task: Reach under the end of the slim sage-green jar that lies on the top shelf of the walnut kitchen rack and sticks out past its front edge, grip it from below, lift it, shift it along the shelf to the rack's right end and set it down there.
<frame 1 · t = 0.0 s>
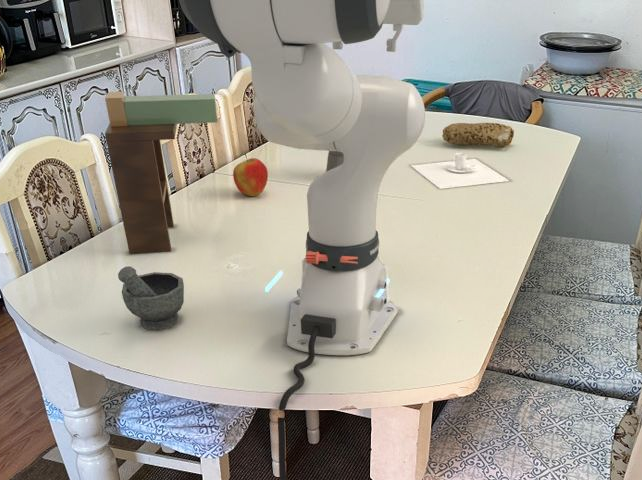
hand: (364, 49, 122), 39 cm above the table, tool pointing down, fingers open, 8 cm apart
mortar and pestle: (157, 324, 117), on the table
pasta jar: (164, 121, 135), point 24 cm above the table, touching rack
rack: (167, 238, 147), on the table
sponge: (476, 146, 210), on the table
apple: (252, 195, 170), on the table
teacup and saucer: (458, 173, 188), on the table
coffeepot: (346, 178, 183), on the table
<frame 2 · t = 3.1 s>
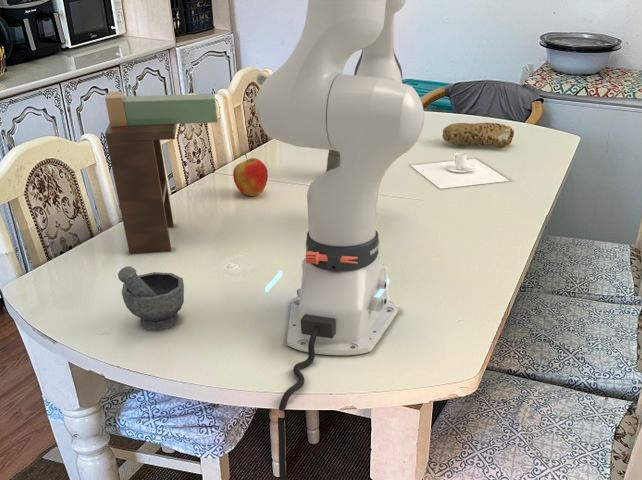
hand: (259, 82, 135), 31 cm above the table, tool pointing upward, fingers open, 8 cm apart
nothing on the table moved.
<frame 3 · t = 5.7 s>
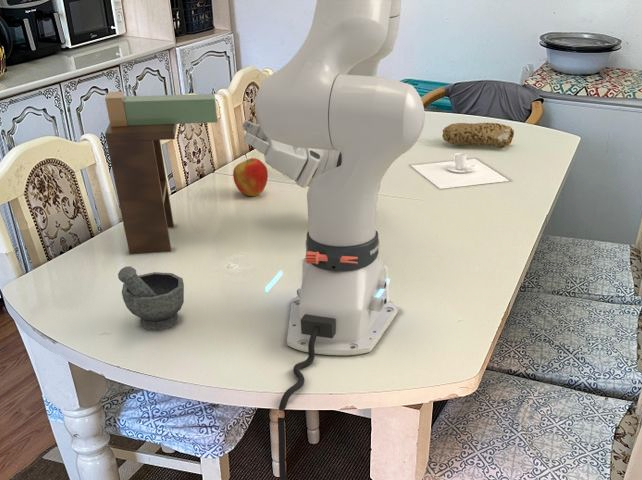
hand: (244, 130, 139), 22 cm above the table, tool pointing upward, fingers open, 8 cm apart
nothing on the table moved.
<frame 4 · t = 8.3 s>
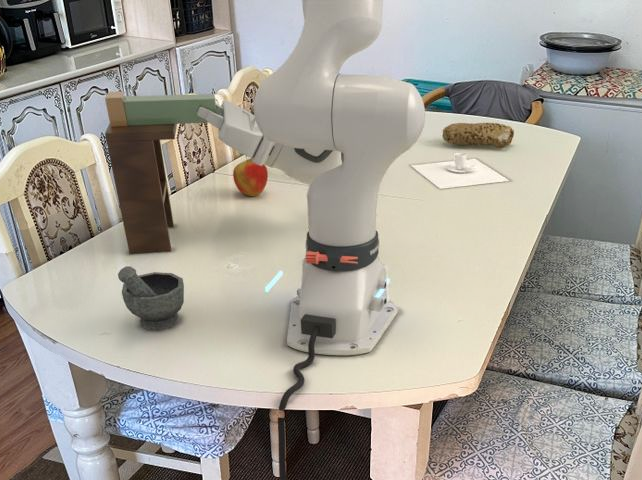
hand: (198, 106, 135), 27 cm above the table, tool pointing upward, fingers closed on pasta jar, 4 cm apart
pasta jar: (164, 121, 135), point 24 cm above the table, touching gripper, rack
everything else where it was.
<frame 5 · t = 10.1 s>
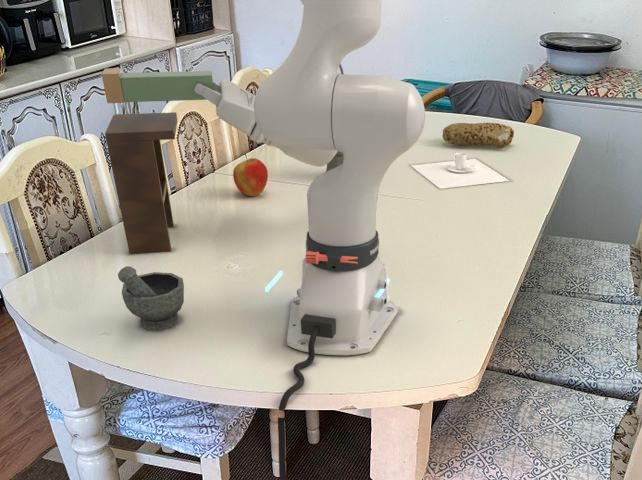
hand: (195, 83, 134), 31 cm above the table, tool pointing upward, fingers closed on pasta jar, 4 cm apart
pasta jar: (161, 98, 134), point 28 cm above the table, touching gripper
everything else where it was.
when the fingers open (27 cm above the table, at t = 12.3 s): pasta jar stays where it is, resting on rack.
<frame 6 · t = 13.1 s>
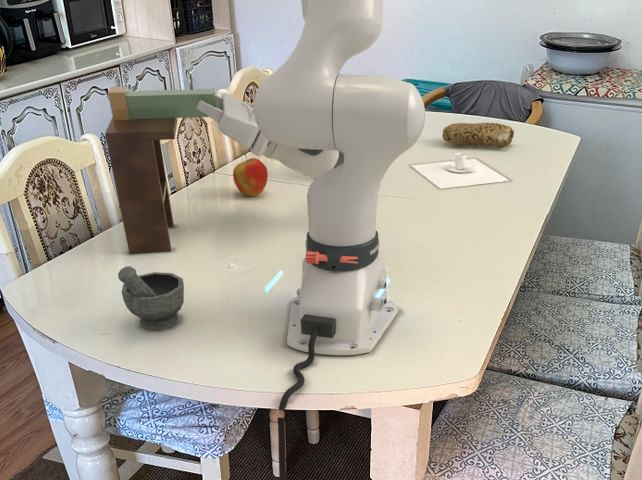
hand: (198, 98, 138), 27 cm above the table, tool pointing upward, fingers open, 8 cm apart
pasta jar: (165, 115, 139), point 24 cm above the table, touching rack
everything else where it was.
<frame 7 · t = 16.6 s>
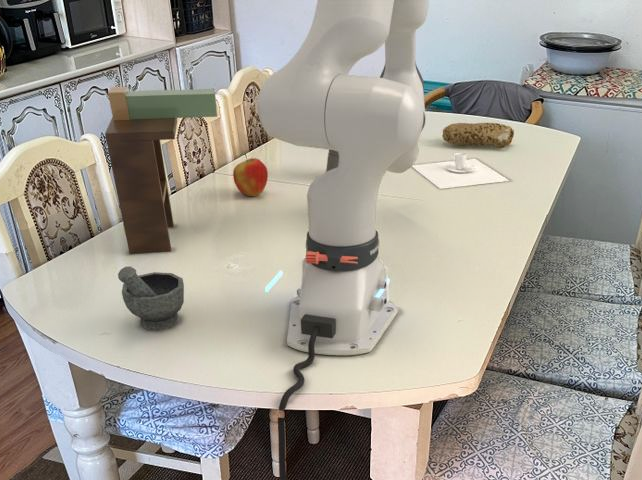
hand: (287, 93, 140), 28 cm above the table, tool pointing upward, fingers open, 8 cm apart
nothing on the table moved.
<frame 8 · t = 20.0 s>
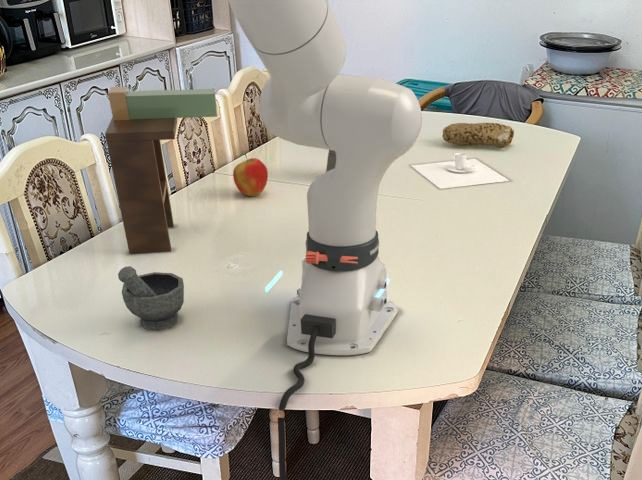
hand: (311, 35, 132), 39 cm above the table, tool pointing down, fingers open, 8 cm apart
nothing on the table moved.
at the end: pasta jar 0.1 cm from the target spot on the rack, point 24.0 cm above the rack's base; the gripper is holding nothing; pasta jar tilted 0° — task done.
